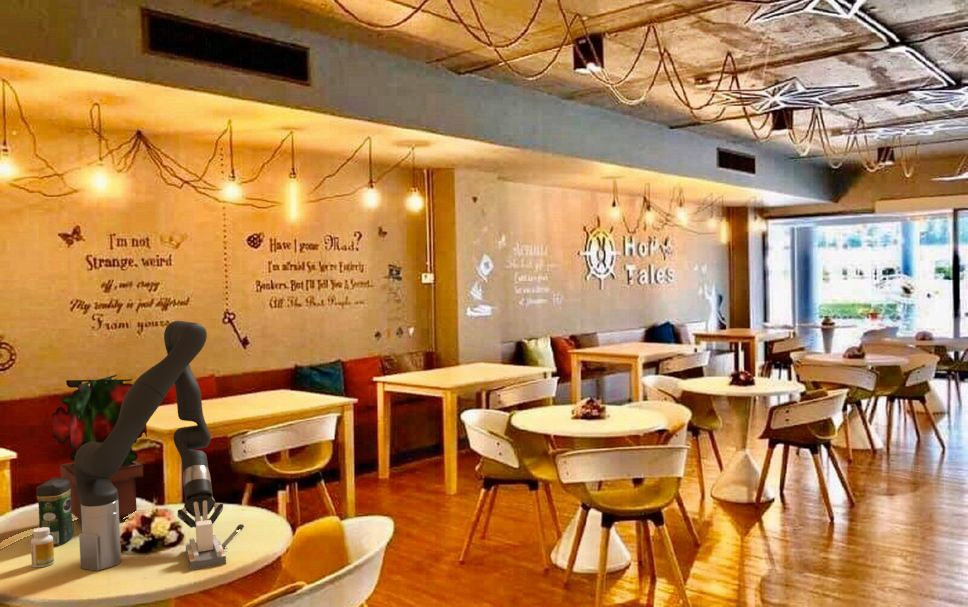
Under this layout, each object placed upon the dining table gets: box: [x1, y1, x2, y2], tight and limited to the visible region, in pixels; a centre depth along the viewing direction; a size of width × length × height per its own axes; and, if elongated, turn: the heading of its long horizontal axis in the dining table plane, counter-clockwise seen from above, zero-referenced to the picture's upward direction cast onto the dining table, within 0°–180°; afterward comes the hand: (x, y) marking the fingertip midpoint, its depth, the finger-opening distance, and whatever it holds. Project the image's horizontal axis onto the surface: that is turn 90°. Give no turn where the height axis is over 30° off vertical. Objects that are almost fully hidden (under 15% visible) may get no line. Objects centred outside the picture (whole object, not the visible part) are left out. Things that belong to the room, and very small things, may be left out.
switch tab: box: [195, 520, 214, 552], centre depth 224 cm, size 4×4×7 cm
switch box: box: [185, 534, 227, 571], centre depth 224 cm, size 16×9×4 cm, turn 24°
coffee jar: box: [36, 477, 75, 547], centre depth 239 cm, size 10×8×19 cm
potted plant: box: [51, 374, 148, 523], centre depth 260 cm, size 22×22×45 cm
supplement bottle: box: [30, 527, 55, 569], centre depth 221 cm, size 5×5×10 cm
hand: (203, 538), depth 227 cm, fingers closed
